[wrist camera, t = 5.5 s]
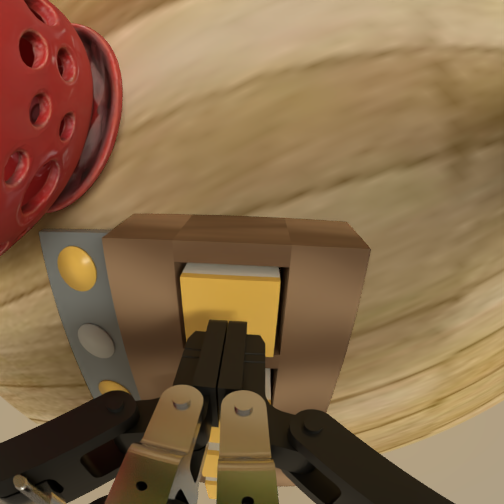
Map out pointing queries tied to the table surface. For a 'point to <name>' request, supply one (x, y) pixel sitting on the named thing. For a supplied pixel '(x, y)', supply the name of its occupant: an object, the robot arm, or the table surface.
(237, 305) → the button
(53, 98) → the plant pot
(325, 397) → the board
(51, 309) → the table surface
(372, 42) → the table surface
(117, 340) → the card
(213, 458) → the button
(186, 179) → the table surface
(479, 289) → the table surface
